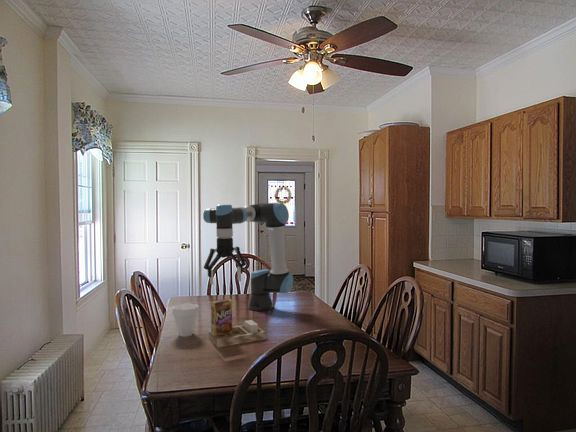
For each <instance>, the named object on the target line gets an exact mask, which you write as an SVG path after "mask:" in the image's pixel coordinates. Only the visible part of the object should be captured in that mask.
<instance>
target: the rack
mask: <svg viewBox="0 0 576 432" xmlns="http://www.w3.org/2000/svg"><path fill="white" fill-rule="evenodd" d="M207 338H208V339H210V341H212V343H213V344H215V345H214V346H216V347H217V348H222V347H228V346H233V345H240V344H244V343H245V344H246V343H249V342H250V343H251V342H256V341H261V340H266V339H267V338H266V331H265V330H263V329H262V328H260V327H259V326H258V332H256V333H249V332H247V331H246V330H245V329H244V324H242V325H236V326H232V333H228V334H223V335H217V336H213V335H212V334H211V329H209V330H208V336H207Z"/></svg>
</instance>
